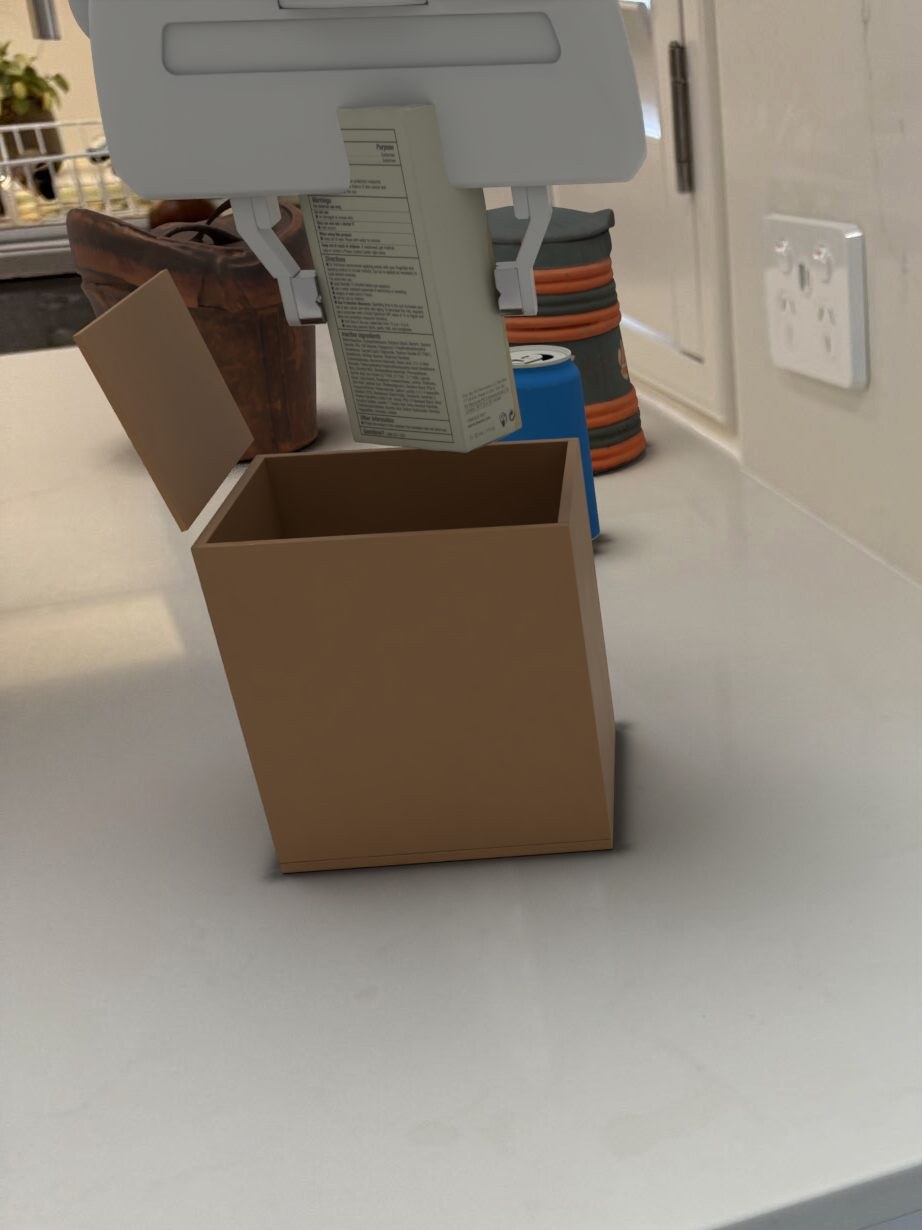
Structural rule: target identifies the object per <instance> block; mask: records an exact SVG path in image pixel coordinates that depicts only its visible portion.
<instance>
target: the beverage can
mask: <svg viewBox="0 0 922 1230" xmlns="http://www.w3.org/2000/svg"><path fill="white" fill-rule="evenodd" d="M509 349H510V355H511V361H512V367H513V374H514V380H515V386H516V392H517V398H518V404H519V410H520V416H521V421H522V428H521V429H518V430H517V431H515V432H513V433H511V434H509V435H508V436H506V437H504V438H502V439H499V440H497V441H495V442H506V441H524V440H543V439H562V438H579V444H580V452H581V460H582V468H583V476H584V483H585V491H586V499H587V507H588V515H589V523H590V531H591V538H592V541H594V540H596V539H597V538H598V537H599V536H600V533H601V527H600V519H599V512H598V511H599V510H598V503H597V495H596V487H595V478H594V473H593V470H592V462H591V454H590V446H589V438H588V430H587V422H586V414H585V406H584V398H583V390H582V382H581V374H580V371H579V369H578V368H577V366H576V365H575V364H574V363H573V361H572V360H571V351H570V350H569V349H567V348H563V347H558V346H549V345H530V346H517V347H510V348H509Z"/></svg>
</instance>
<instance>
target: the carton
mask: <svg viewBox="0 0 922 1230" xmlns="http://www.w3.org/2000/svg"><path fill="white" fill-rule="evenodd" d="M190 552H191V557H192V559H193V562H194V566H195V570H196V573H197V576H198V580H199V584H200V588H201V591H202V594H203V598H204V602H205V605H206V608H207V613H208V616H209V620H210V622H211V626H212V631H213V634H214V638H215V641H216V644H217V648H218V652H219V654H220V659H221V662H222V665H223V669H224V673H225V676H226V679H227V680H226V681H227V683H228V687H229V690H230V694H231V697H232V701H233V705H234V708H235V710H236V716H237V718H238V722H239V723H238V724H239V727H240V730H241V732H242V736H243V740H244V744H245V747H246V750H247V754H248V757H249V762H250V765H251V768H252V769H251V770H252V772H253V775H254V779H255V783H256V785H257V789H258V793H259V797H260V800H261V804H262V808H263V811H264V815H265V818H266V821H267V826H268V829H269V832H270V836H271V840H272V842H273V847H274V850H275V853H276V857H277V860H278V864H279V867H280V871H281V873H282V874H289V873H290V874H291V873H302V872H318V871H331V870H343V869H344V870H345V869H358V868H369V867H384V866H398V865H399V866H400V865H412V864H427V863H439V862H451V861H465V860H467V861H468V860H479V859H493V858H494V859H495V858H507V857H519V856H520V857H521V856H533V855H535V856H536V855H547V854H549V855H550V854H560V853H561V854H562V853H574V852H587V851H600V850H601V851H602V850H612V849H613V848H614V816H615V815H614V813H615V812H614V810H615V809H614V808H615V807H614V806H615V768H616V767H615V765H616V729H617V728H616V720H615V712H614V706H613V705H614V704H613V697H612V696H613V695H612V689H611V688H612V687H611V681H610V672H609V665H608V664H609V663H608V658H607V650H606V642H605V641H606V640H605V634H604V633H605V632H604V625H603V618H602V611H601V610H602V609H601V603H600V601H601V600H600V594H599V593H600V592H599V587H598V578H597V571H596V570H597V569H596V563H595V554H594V547H593V540H592V538H591V531H590V523H589V515H588V507H587V499H586V491H585V483H584V476H583V468H582V460H581V452H580V444H579V438H562V439H543V440H524V441H506V442H493V443H490V444H488V445H486V446H483V447H480V448H478V449H475V450H471V451H470V452H467V453H461V452H452V451H432V450H424V449H418V448H410V447H399V446H394V447H380V448H379V447H376V448H362V449H361V448H359V449H341V450H324V451H323V450H322V451H321V450H320V451H307V452H305V451H303V452H290V453H283V454H265V455H256V456H255V458H254V459H251V462H250V463H249V465H248V466H247V467H246V469H245V470H244V471H243V474H242V475H240V477H239V479H238V480H237V481H236V482H235V484H234V486H233V487H232V489H231V490H230V491H229V493H228V494H227V495H226V497H225V499H224V500H223V501H222V503H221V504H220V505H219V506H218V509H217V510H216V511H215V513H214V514H213V515H212V517H211V518H210V519H209V521H208V523H207V524H206V525H205V527H204V528H203V530H201V533H200V534H199V535H198V536H197V538H196V539H195V540H194V542H193V543H192V545H191V546H190Z"/></svg>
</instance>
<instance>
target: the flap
mask: <svg viewBox="0 0 922 1230" xmlns="http://www.w3.org/2000/svg"><path fill="white" fill-rule="evenodd" d="M72 339H73V340H74V342H75V344H76V346H77V348H78V349H79V351H80V353H81V355H82V356H83V358H84V360H85V362H86V364H87V366H88V367H89V369H90V372H91V373H92V375H93V377H94V378H95V380H96V382H97V383H98V385H99V387H100V389H101V391H102V393H103V395H104V396H105V398H106V400H107V401H108V403H109V405H110V407H111V409H112V411H113V412H114V414H115V416H116V417H117V419H118V421H119V423H120V424H121V427H122V428H123V431H124V432H125V433H126V436H127V437H128V439H129V441H130V443H131V444H132V446H133V448H134V450H135V451H136V453H137V455H138V456H139V457H138V458H139V459H140V460H141V462H142V464H143V466H144V468H145V469H146V471H147V473H148V474H149V477H150V478H151V480H152V482H153V484H154V486H155V487H156V489H157V491H158V493H159V494H160V496H161V498H162V500H163V501H164V504H165V505H166V507H167V509H168V511H169V512H170V514H171V516H172V518H173V519H174V521H175V523H176V525H177V527H178V528H179V530H180V532H181V533H183V532H184V533H185V532H186V531H189V529H190V528H191V527H192V525H193V524H194V523H195V521H196V520H197V519H198V517H199V516H200V514H201V513H202V512H203V510H204V509H205V508H206V507H207V504H208V503H209V502H210V501H211V499H212V498H213V497H214V496H215V494H216V493H217V491H218V490H219V488H220V487H221V486H222V484H223V483H224V482H225V480H226V479H227V478H228V477H229V475H230V473H232V471H233V469H234V468H235V467H236V465H237V464H238V463H239V461H241V460H240V458H241V457H242V456H243V454H244V453H245V452H246V450H247V449H248V447H249V446H250V445H251V443H252V442H253V441H254V438H253V436H252V434H251V432H250V430H249V428H248V426H247V424H246V422H245V420H244V418H243V416H242V414H241V412H240V410H239V409H238V407H237V405H236V403H235V401H234V399H233V397H232V395H231V393H230V391H229V389H228V387H227V385H226V383H225V381H224V379H223V377H222V375H221V373H220V371H219V369H218V367H217V365H216V364H215V362H214V360H213V358H212V356H211V354H210V352H209V350H208V348H207V346H206V344H205V342H204V340H203V338H202V336H201V334H200V332H199V330H198V328H197V326H196V324H195V322H194V320H193V319H192V317H191V315H190V313H189V311H188V309H187V307H186V305H185V303H184V301H183V299H182V297H181V295H180V293H179V291H178V289H177V287H176V285H175V283H174V281H173V279H172V277H171V275H170V273H169V272H168V270H167V269H165V270H162V271H160V272H159V273H158V274H156V275H155V276H154V277H152V278H151V279H150V280H148V281H147V282H146V283H144V284H143V285H141V286H140V287H139V288H137V289H136V290H135V291H133V292H132V293H131V294H129V295H128V296H127V297H125V298H124V299H122V300H121V301H120V302H118V303H117V304H116V305H114V306H113V307H112V308H110V309H109V310H108V311H106V312H105V313H104V314H102V315H101V316H99V317H98V318H97V317H96V318H95V319H94V320H93V321H91V322H90V323H89V324H87V325H86V326H84V327H83V328H82V329H79V331H78V332H76V333H75V334H73V335H72Z"/></svg>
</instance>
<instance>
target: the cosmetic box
mask: <svg viewBox="0 0 922 1230" xmlns="http://www.w3.org/2000/svg"><path fill="white" fill-rule="evenodd" d="M336 112H337V117H338V121H339V125H340V129H341V133H342V137H343V142H344V146H345V150H346V154H347V158H348V163H349V167H350V186H349V188H348V190H347V191H345V192H343V193H335V194H309V195H297V198H298V202H299V206H300V211H301V212H302V215H303V220H304V224H305V229H306V233H307V238H308V242H309V246H310V250H311V255H312V259H313V264H314V268H315V273H316V275H317V278H318V283H319V287H320V292H321V293H320V294H321V299H322V303H323V306H324V311H325V316H326V320H327V323H326V325H327V329H328V334H329V338H330V342H331V346H332V350H333V356H334V360H335V363H336V368H337V373H338V379H339V382H340V386H341V391H342V394H343V399H344V403H345V408H346V412H347V417H348V421H349V425H350V430H351V434H352V438H353V441H354V442H355V443H358V444H359V443H361V444H370V445H371V444H372V445H379V446H386V447H410V448H418V449H424V450H432V451H452V452H461V453H467V452H470V451H471V450H475V449H478V448H480V447H483V446H486V445H488V444H490V443H493V442H495V441H497V440H499V439H502V438H504V437H506V436H508V435H509V434H511V433H513V432H515V431H517V430H518V429H521V428H522V421H521V416H520V410H519V404H518V398H517V392H516V386H515V380H514V374H513V367H512V361H511V355H510V349H509V343H508V337H507V331H506V325H505V319H504V316H501V315H500V310H499V304H498V299H499V296H500V292H499V291H498V290H497V288H496V284H495V277H494V267H496V264H495V257H494V252H493V246H492V240H491V233H490V227H489V221H488V216H487V211H486V210H487V205H486V198H485V192H484V188H466V189H455V188H453V187H452V186H451V185H450V183H449V180H448V177H447V173H446V170H445V166H444V160H443V153H442V147H441V141H440V135H439V129H438V123H437V117H436V111H435V106H434V104H430V105H428V104H410V105H393V106H377V107H365V108H348V109H336Z"/></svg>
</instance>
